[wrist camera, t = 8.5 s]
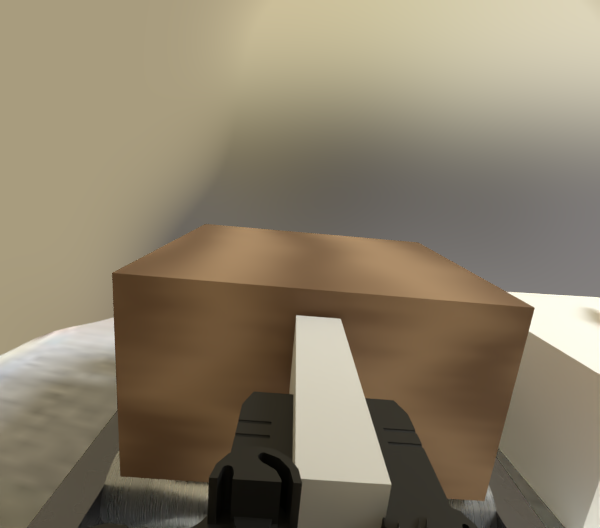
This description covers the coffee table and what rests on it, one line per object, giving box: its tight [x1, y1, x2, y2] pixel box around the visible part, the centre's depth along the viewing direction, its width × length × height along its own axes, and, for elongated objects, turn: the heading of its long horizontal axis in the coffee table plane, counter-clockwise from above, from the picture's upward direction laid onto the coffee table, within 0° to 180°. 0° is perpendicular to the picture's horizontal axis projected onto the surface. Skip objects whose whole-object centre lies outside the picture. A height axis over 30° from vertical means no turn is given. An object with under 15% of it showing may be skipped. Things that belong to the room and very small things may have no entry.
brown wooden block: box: [112, 224, 535, 501], centre depth 19 cm, size 14×12×8 cm
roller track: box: [27, 410, 546, 528], centre depth 15 cm, size 19×28×4 cm, turn 0°
